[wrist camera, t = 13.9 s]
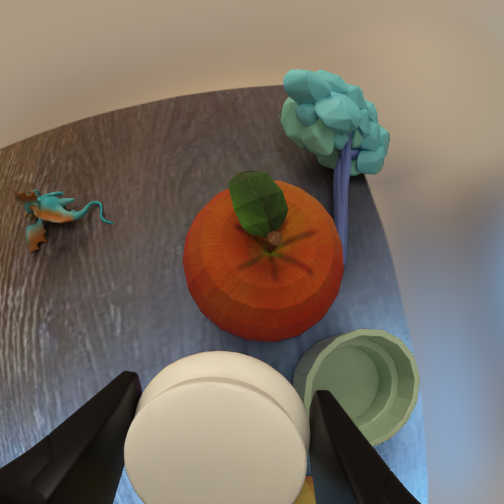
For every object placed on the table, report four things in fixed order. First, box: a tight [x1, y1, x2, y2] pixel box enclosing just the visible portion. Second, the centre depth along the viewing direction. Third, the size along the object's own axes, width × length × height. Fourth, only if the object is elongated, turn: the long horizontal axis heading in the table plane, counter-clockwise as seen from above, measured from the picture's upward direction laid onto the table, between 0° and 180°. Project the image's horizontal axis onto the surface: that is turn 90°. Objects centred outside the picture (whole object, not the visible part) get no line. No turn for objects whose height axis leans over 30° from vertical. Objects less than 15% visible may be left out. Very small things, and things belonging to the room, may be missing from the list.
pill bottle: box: [124, 351, 310, 504], centre depth 10 cm, size 5×5×10 cm
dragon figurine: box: [14, 189, 114, 254], centre depth 23 cm, size 7×7×8 cm
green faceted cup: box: [292, 329, 420, 447], centre depth 19 cm, size 7×7×5 cm
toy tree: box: [278, 70, 390, 265], centre depth 24 cm, size 11×9×15 cm
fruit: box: [183, 171, 344, 342], centre depth 18 cm, size 10×10×10 cm
